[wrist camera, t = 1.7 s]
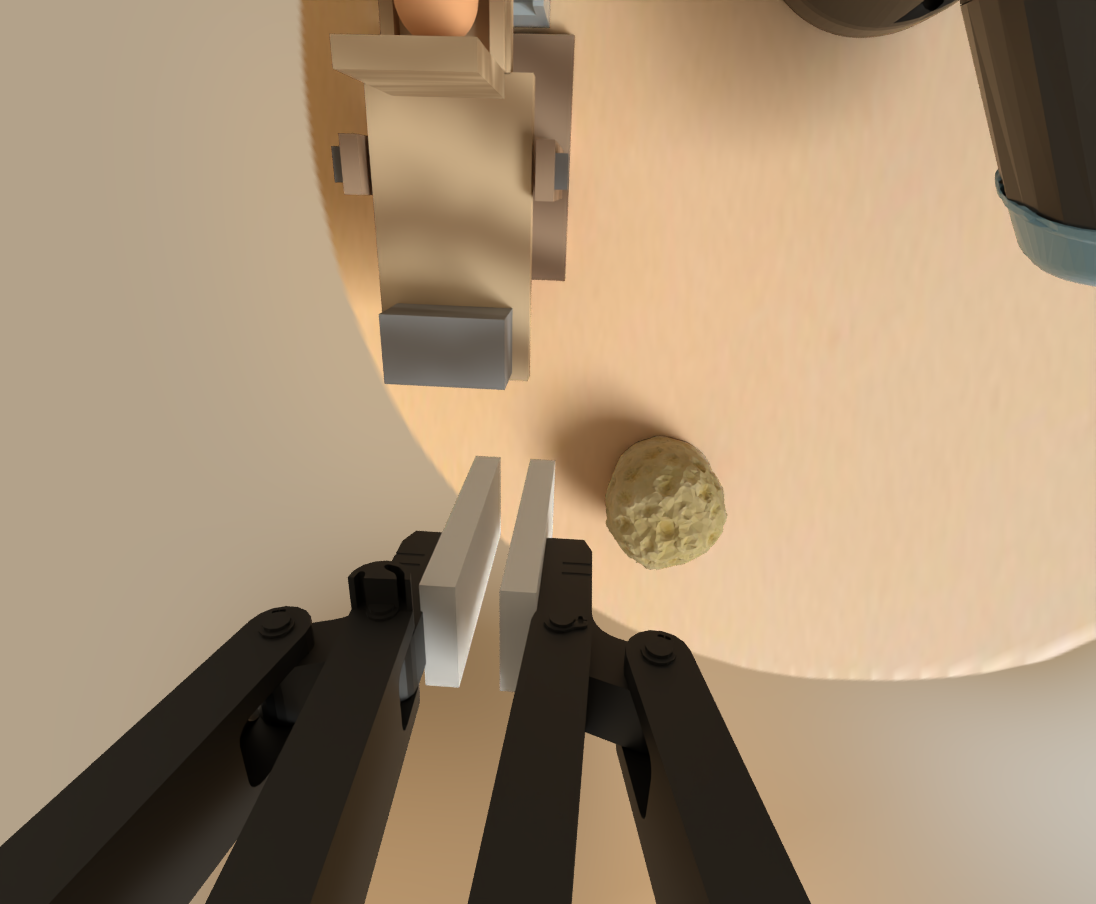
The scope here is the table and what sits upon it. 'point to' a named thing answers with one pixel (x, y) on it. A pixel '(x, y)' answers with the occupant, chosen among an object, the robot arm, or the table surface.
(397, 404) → the table surface
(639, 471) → the decorative item
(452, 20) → the ball
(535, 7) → the blue open box
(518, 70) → the catapult stand
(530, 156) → the lever
